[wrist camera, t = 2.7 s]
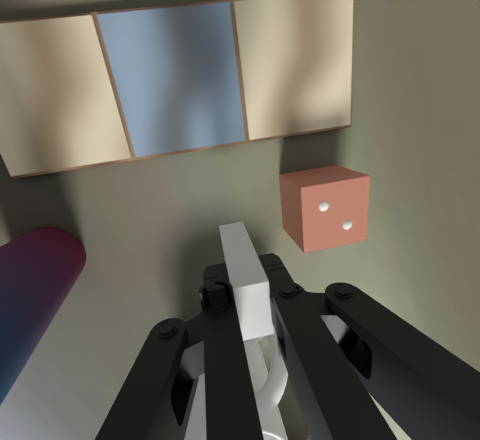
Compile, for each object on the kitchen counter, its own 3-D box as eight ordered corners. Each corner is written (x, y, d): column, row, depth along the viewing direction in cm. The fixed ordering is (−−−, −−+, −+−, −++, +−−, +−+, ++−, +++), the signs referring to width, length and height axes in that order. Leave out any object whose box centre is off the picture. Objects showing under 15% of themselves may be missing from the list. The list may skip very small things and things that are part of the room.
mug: (233, 279, 25) (258, 375, 16) (295, 313, 28) (348, 413, 18) (166, 364, 27) (150, 494, 18) (229, 388, 30) (245, 512, 21)
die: (283, 227, 24) (305, 254, 19) (278, 174, 22) (302, 188, 17) (334, 217, 25) (368, 241, 20) (334, 164, 23) (371, 176, 18)
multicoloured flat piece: (17, 177, 19) (10, 179, 18) (-50, 29, 16) (-62, 25, 15) (346, 126, 22) (351, 127, 21) (349, -9, 18) (355, -14, 18)
